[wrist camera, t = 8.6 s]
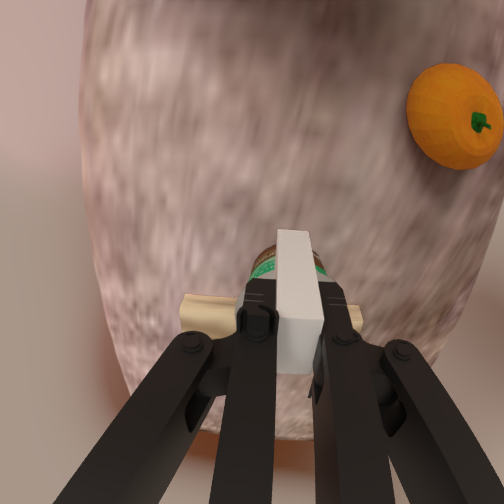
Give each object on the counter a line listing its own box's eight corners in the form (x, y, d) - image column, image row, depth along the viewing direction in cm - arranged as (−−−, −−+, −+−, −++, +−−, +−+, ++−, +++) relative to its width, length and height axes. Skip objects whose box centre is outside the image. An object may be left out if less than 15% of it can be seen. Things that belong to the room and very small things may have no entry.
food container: (293, 212, 36) (298, 254, 27) (327, 247, 38) (340, 295, 29) (222, 274, 41) (207, 325, 32) (255, 302, 43) (250, 356, 34)
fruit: (491, 111, 27) (542, 123, 18) (446, 179, 32) (490, 209, 23) (427, 44, 25) (474, 35, 16) (377, 118, 30) (413, 129, 21)
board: (185, 293, 43) (178, 311, 39) (358, 305, 42) (364, 323, 38) (189, 326, 46) (182, 344, 42) (349, 336, 44) (353, 355, 41)
